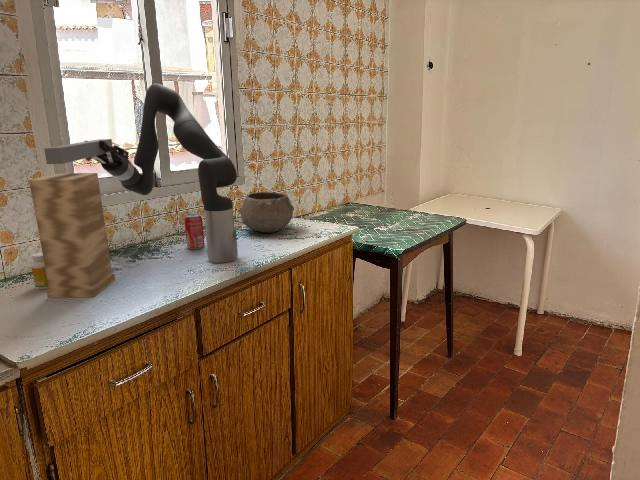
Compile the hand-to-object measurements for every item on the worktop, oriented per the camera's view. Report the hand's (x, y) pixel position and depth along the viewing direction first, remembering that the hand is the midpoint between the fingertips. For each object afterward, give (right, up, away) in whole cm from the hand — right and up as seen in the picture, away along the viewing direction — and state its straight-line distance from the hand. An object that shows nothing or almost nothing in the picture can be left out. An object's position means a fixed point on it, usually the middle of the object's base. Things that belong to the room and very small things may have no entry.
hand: (92, 143), depth 145 cm
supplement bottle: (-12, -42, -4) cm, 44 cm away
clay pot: (+47, -25, +51) cm, 74 cm away
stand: (0, -43, -6) cm, 43 cm away
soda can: (+23, -32, +31) cm, 50 cm away
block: (0, -5, -5) cm, 7 cm away
